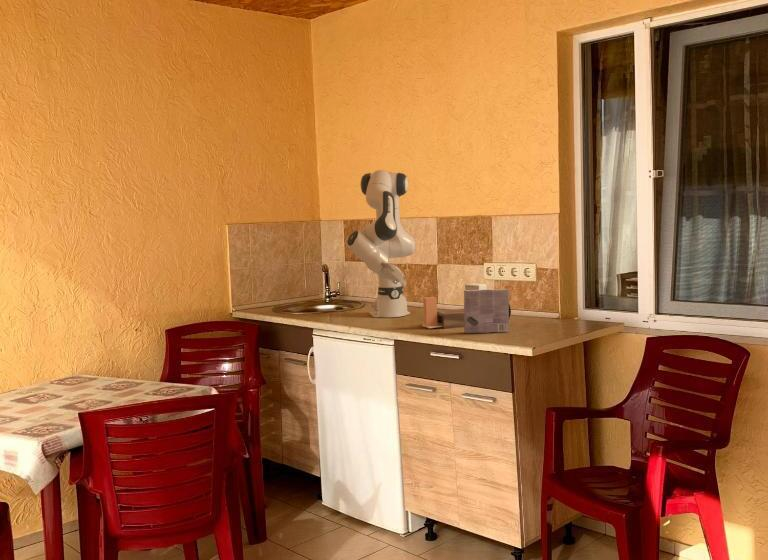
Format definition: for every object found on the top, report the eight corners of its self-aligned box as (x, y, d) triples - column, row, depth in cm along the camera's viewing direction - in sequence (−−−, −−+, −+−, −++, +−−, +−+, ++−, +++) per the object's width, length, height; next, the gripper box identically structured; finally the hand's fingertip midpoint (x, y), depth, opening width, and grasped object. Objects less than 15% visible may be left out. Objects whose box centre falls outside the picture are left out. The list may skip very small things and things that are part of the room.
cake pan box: (511, 330, 337) (509, 287, 335) (512, 332, 332) (511, 289, 330) (464, 332, 338) (462, 289, 336) (465, 334, 333) (463, 291, 331)
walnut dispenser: (432, 325, 360) (431, 309, 359) (469, 321, 366) (468, 306, 366) (444, 328, 348) (443, 313, 348) (482, 324, 355) (481, 309, 354)
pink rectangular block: (422, 326, 356) (421, 297, 355) (465, 321, 363) (464, 293, 362) (429, 328, 349) (428, 298, 347) (473, 323, 356) (472, 294, 355)
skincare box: (464, 318, 378) (463, 284, 376) (473, 316, 383) (472, 282, 381) (479, 319, 372) (478, 285, 371) (488, 317, 377) (487, 283, 375)
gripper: (392, 257, 333) (415, 280, 338) (375, 255, 352) (397, 276, 357) (382, 269, 332) (405, 291, 337) (365, 266, 351) (388, 287, 356)
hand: (401, 283), depth 347 cm, fingers open, 8 cm apart
